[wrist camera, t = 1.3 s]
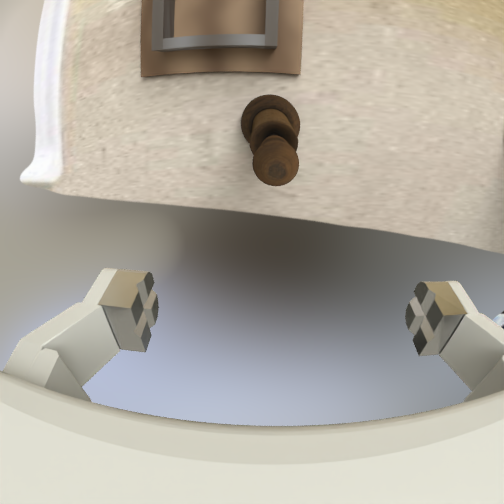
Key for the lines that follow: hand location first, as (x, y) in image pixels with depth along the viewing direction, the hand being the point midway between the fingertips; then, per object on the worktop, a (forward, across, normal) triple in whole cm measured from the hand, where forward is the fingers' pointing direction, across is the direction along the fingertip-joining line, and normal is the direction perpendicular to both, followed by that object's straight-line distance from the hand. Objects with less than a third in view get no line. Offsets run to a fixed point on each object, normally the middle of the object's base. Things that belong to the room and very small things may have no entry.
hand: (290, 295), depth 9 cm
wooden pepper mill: (+29, 0, 0) cm, 29 cm away
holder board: (+29, +6, -15) cm, 33 cm away
